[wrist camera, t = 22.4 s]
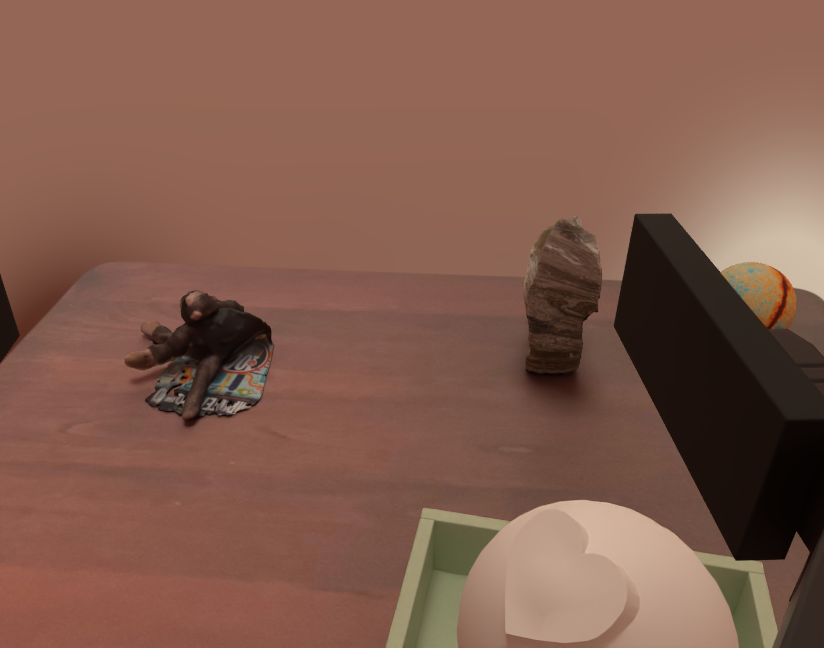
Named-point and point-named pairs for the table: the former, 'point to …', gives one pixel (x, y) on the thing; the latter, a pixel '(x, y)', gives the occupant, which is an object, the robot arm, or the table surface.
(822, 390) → the robot arm
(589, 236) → the rock
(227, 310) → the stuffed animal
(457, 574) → the tote
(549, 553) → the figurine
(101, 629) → the table surface
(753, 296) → the ball
